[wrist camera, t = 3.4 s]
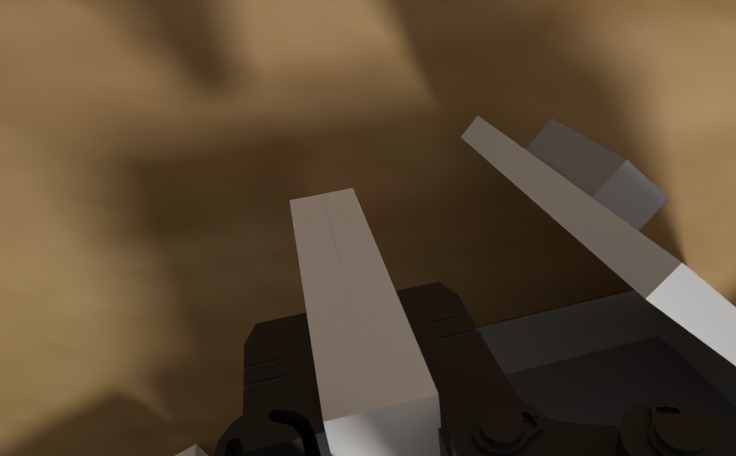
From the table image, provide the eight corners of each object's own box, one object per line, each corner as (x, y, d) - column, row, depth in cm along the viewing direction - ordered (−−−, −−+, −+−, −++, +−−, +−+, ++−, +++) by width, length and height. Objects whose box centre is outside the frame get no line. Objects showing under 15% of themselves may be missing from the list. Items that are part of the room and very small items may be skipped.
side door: (456, 142, 16) (636, 308, 9) (500, 87, 16) (731, 215, 8) (663, 299, 21) (889, 489, 14) (702, 262, 21) (957, 438, 13)
